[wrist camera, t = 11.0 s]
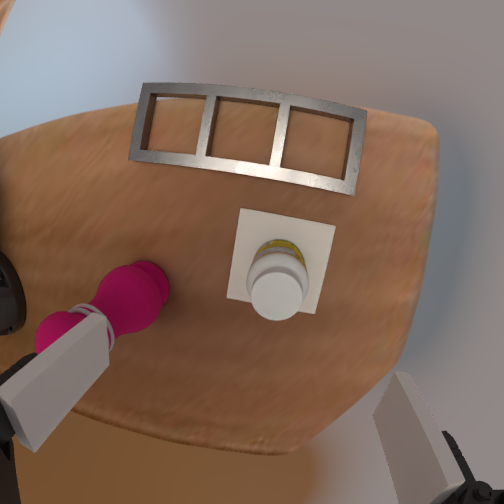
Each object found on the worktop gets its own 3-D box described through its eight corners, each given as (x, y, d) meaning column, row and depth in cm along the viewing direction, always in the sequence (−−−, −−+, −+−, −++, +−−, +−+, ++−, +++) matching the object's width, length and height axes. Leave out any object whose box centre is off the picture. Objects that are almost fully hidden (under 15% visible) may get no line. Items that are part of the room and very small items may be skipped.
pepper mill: (118, 301, 36) (13, 385, 16) (125, 248, 34) (-1, 311, 14) (168, 320, 35) (81, 430, 16) (179, 267, 34) (73, 359, 14)
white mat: (227, 295, 34) (226, 297, 33) (241, 207, 31) (240, 208, 31) (314, 311, 33) (314, 314, 33) (334, 225, 31) (335, 226, 30)
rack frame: (135, 160, 31) (128, 160, 30) (149, 87, 29) (143, 82, 27) (350, 194, 30) (354, 195, 28) (362, 114, 28) (367, 110, 26)
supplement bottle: (256, 234, 31) (245, 257, 22) (308, 241, 31) (318, 267, 22) (251, 283, 33) (238, 323, 23) (300, 290, 32) (305, 332, 23)
